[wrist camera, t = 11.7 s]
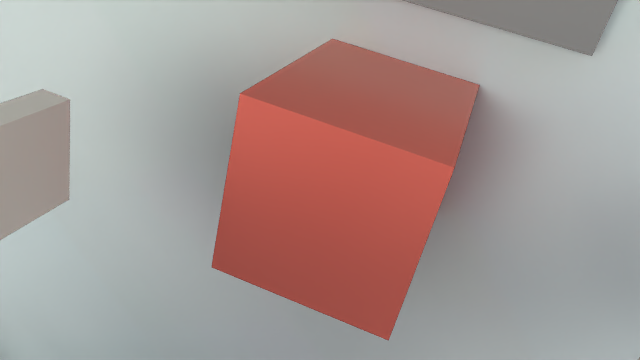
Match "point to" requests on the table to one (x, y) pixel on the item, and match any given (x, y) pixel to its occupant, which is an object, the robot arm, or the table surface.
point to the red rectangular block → (340, 180)
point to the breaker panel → (537, 18)
